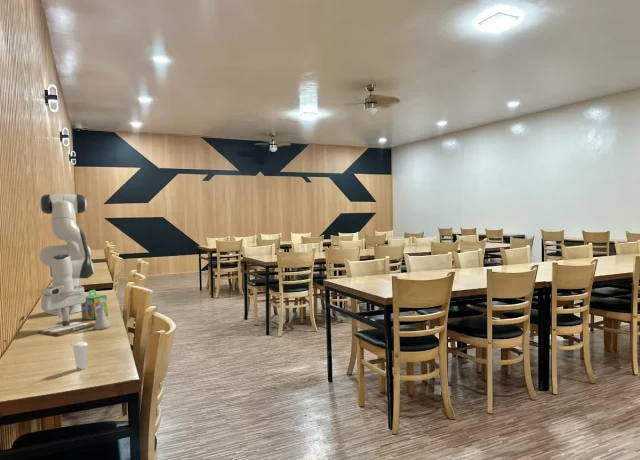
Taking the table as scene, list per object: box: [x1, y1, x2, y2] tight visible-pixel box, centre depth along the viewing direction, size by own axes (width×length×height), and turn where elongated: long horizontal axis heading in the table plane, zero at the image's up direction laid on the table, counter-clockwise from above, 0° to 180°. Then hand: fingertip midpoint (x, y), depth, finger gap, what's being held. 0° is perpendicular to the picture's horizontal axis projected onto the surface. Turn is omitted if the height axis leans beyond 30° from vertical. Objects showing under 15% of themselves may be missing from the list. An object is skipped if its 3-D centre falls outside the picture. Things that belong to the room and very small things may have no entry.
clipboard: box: [37, 320, 95, 337], centre depth 208 cm, size 17×19×2 cm
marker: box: [61, 301, 71, 326], centre depth 211 cm, size 3×3×12 cm
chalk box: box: [81, 289, 109, 321], centre depth 231 cm, size 9×9×15 cm
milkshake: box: [70, 341, 89, 371], centre depth 150 cm, size 4×5×10 cm
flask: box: [92, 307, 111, 331], centre depth 207 cm, size 7×7×10 cm
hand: (65, 316), depth 211 cm, fingers closed on marker, 3 cm apart
